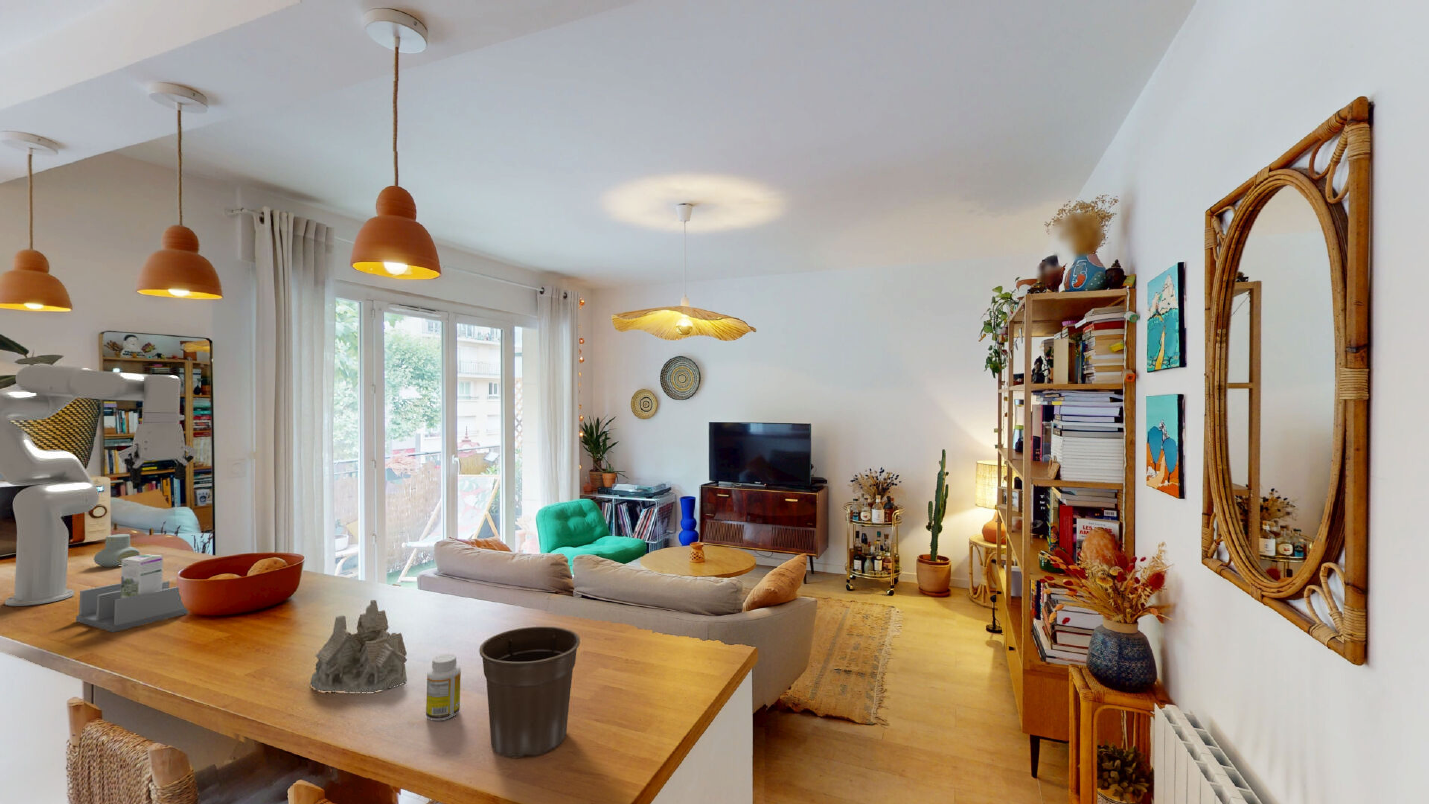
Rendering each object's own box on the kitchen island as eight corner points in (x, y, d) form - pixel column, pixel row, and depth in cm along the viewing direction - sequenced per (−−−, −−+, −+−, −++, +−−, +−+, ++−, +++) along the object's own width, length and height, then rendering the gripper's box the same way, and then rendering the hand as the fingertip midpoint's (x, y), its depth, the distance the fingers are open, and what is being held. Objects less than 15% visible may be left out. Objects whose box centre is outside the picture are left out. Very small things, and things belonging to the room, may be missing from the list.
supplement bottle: (450, 704, 112) (452, 649, 112) (465, 714, 108) (467, 657, 109) (420, 715, 108) (422, 657, 108) (434, 726, 104) (436, 666, 104)
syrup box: (162, 611, 154) (165, 554, 154) (136, 619, 148) (139, 560, 148) (144, 609, 155) (147, 553, 155) (118, 617, 149) (120, 558, 149)
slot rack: (75, 621, 149) (77, 591, 149) (151, 604, 163) (152, 576, 163) (113, 632, 143) (114, 600, 143) (188, 613, 157) (189, 584, 157)
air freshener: (123, 560, 207) (124, 531, 208) (144, 562, 206) (146, 532, 207) (87, 568, 196) (88, 538, 197) (109, 570, 196) (111, 539, 196)
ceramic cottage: (306, 677, 122) (313, 603, 122) (396, 660, 132) (402, 592, 132) (316, 712, 110) (324, 630, 110) (413, 691, 120) (420, 616, 120)
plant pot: (453, 753, 96) (457, 651, 97) (519, 708, 111) (522, 620, 112) (537, 777, 90) (540, 669, 91) (595, 726, 106) (598, 633, 106)
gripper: (189, 419, 176) (187, 477, 176) (112, 418, 160) (109, 483, 160) (205, 419, 173) (202, 479, 173) (128, 419, 157) (125, 485, 157)
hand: (158, 480), depth 166 cm, fingers open, 9 cm apart
